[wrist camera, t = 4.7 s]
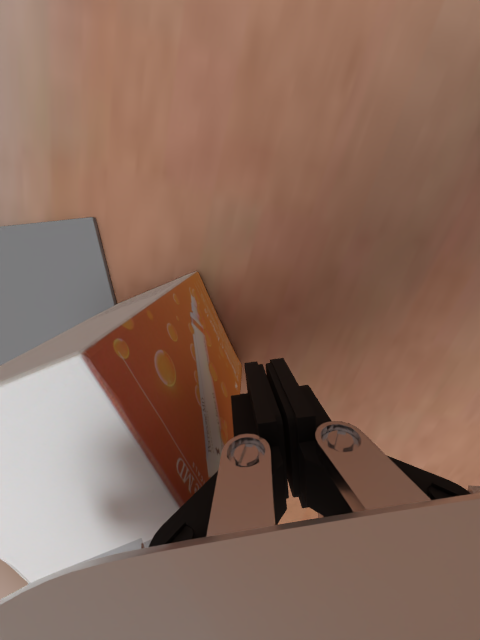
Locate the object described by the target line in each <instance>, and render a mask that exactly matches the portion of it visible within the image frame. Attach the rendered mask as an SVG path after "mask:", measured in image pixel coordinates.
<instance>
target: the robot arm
mask: <svg viewBox="0 0 480 640" xmlns="http://www.w3.org/2000/svg"><path fill="white" fill-rule="evenodd" d="M245 372H246V381H247V390H248V393H246V394H239V395H232V396H231V406H232V420H233V433H234V437H233V438H232V439H230V440H229V441H228V442H227V443H226V444H225V445H224V447H223V450H222V453H221V458H220V464H219V469H218V471H217V472H216V473H215V474H214V475H213V476H212V477H211V478H210V479H209V480H208V481H207V482H206V483H205V484H204V485H203V486H202V487H201V488H200V489H199V490H198V491H197V492H196V493H195V494H194V495H193V496H192V497H191V498H190V499H189V500H188V501H186V502H185V503H184V504H183V505H182V506H181V507H180V508H179V509H178V510H177V511H176V512H175V513H174V514H173V515H172V516H171V517H170V518H169V519H168V520H167V521H166V522H165V523H164V524H163V525H162V526H161V527H160V529H159V530H158V531H157V532H156V533H155V535H154V537H153V538H152V539H151V540H149V541H146V542H144V543H143V541H142V538H140V539H138V540H135V541H133V542H130V543H128V544H125V545H123V546H120V547H118V548H115V549H113V550H110V551H108V552H105V553H103V554H100V555H98V556H95V557H93V558H90V559H88V560H85V561H83V562H80V563H78V564H75V565H73V566H70V567H67V568H64V569H62V570H59V571H57V572H55V573H52V574H50V575H48V576H45V577H43V578H40V579H38V580H36V581H34V582H32V583H30V584H28V585H26V586H25V587H23V588H21V589H19V590H17V591H15V592H13V593H12V594H10V595H8V596H6V597H4V598H2V599H1V600H0V640H480V486H468V490H466V489H464V488H463V487H461V486H460V485H458V484H456V483H454V482H451V481H449V480H447V479H444V478H442V477H439V476H437V475H434V474H432V473H429V472H427V471H424V470H422V469H419V468H417V467H414V466H412V465H409V464H407V463H404V462H402V461H399V460H397V459H394V458H392V457H389V456H387V455H385V454H384V453H383V452H382V451H381V450H380V449H379V448H378V447H377V446H376V445H375V444H374V443H373V442H372V441H371V440H370V439H369V438H368V437H367V436H366V435H365V434H364V433H363V432H362V431H361V430H360V429H358V428H357V427H356V426H353V425H351V424H349V423H345V422H342V421H331V420H330V418H329V417H328V415H327V413H326V412H325V410H324V409H323V407H322V406H321V404H320V402H319V401H318V399H317V398H316V396H315V395H314V393H313V391H312V390H311V388H310V387H309V386H308V385H304V386H299V385H298V383H297V382H296V380H295V378H294V376H293V375H292V373H291V371H290V369H289V368H288V366H287V364H286V362H285V360H284V359H283V358H280V359H272V360H270V363H268V364H266V373H267V375H266V373H265V370H264V367H263V364H260V365H258V363H257V362H250V363H245ZM287 479H288V482H289V486H290V489H291V492H292V496H293V497H299V500H300V503H301V506H302V508H307V507H310V508H311V509H313V510H315V511H316V512H318V518H316V519H310V520H304V521H298V522H292V523H286V524H280V525H278V522H279V520H280V519H281V517H282V516H283V514H284V513H285V511H286V510H287V505H286V498H289V495H288V482H287Z"/></svg>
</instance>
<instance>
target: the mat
mask: <svg viewBox="0 0 480 640" xmlns="http://www.w3.org/2000/svg"><path fill="white" fill-rule="evenodd" d="M116 304H117V303H116V299H115V295H114V291H113V287H112V283H111V279H110V275H109V271H108V267H107V263H106V259H105V255H104V251H103V247H102V243H101V239H100V235H99V231H98V227H97V223H96V219H95V218H94V217H89V218H80V219H70V220H60V221H51V222H41V223H31V224H22V225H12V226H3V227H0V366H1V365H2V364H4V363H6V362H8V361H10V360H12V359H14V358H16V357H18V356H20V355H21V354H23V353H25V352H27V351H29V350H31V349H33V348H35V347H37V346H39V345H40V344H42V343H44V342H46V341H48V340H50V339H52V338H54V337H56V336H58V335H59V334H61V333H63V332H65V331H67V330H69V329H71V328H72V327H74V326H76V325H78V324H80V323H82V322H84V321H86V320H87V319H89V318H91V317H93V316H95V315H97V314H99V313H101V312H103V311H105V310H107V309H109V308H111V307H113V306H114V305H116Z"/></svg>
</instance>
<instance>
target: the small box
mask: <svg viewBox="0 0 480 640" xmlns="http://www.w3.org/2000/svg"><path fill="white" fill-rule="evenodd" d="M241 375H242V365H241V363H240V361H239V360H238V358H237V356H236V354H235V352H234V350H233V348H232V346H231V343H230V341H229V339H228V337H227V335H226V333H225V331H224V328H223V326H222V324H221V322H220V320H219V318H218V316H217V313H216V311H215V309H214V307H213V304H212V302H211V300H210V298H209V295H208V293H207V291H206V289H205V286H204V284H203V282H202V280H201V277H200V275H199V273H198V272H197V271H195V272H192V273H190V274H187V275H185V276H183V277H180V278H178V279H175V280H173V281H171V282H168V283H166V284H163V285H161V286H159V287H156V288H154V289H151V290H149V291H147V292H144V293H142V294H140V295H137V296H135V297H132V298H130V299H128V300H125V301H123V302H121V303H118V304H116V305H114V306H113V307H111V308H109V309H107V310H105V311H103V312H101V313H99V314H97V315H95V316H93V317H91V318H89V319H87V320H86V321H84V322H82V323H80V324H78V325H76V326H74V327H72V328H71V329H69V330H67V331H65V332H63V333H61V334H59V335H58V336H56V337H54V338H52V339H50V340H48V341H46V342H44V343H42V344H40V345H39V346H37V347H35V348H33V349H31V350H29V351H27V352H25V353H23V354H21V355H20V356H18V357H16V358H14V359H12V360H10V361H8V362H6V363H4V364H2V365H1V366H0V559H1V560H3V561H4V562H6V563H7V564H8V565H9V566H11V567H12V568H13V569H14V570H15V571H16V572H17V573H18V574H19V575H20V576H21V577H22V578H23V579H24V580H26V581H27V582H28V583H29V584H30V583H32V582H34V581H36V580H38V579H40V578H43V577H45V576H48V575H50V574H52V573H55V572H57V571H59V570H62V569H64V568H67V567H70V566H73V565H75V564H78V563H80V562H83V561H85V560H88V559H90V558H93V557H95V556H98V555H100V554H103V553H105V552H108V551H110V550H113V549H115V548H118V547H120V546H123V545H125V544H128V543H130V542H133V541H135V540H138V539H140V538H142V541H143V543H144V542H146V541H149V540H151V539H152V538H153V537H154V535H155V533H156V532H157V531H158V530H159V529H160V527H161V526H162V525H163V524H164V523H165V522H166V521H167V520H168V519H169V518H170V517H171V516H172V515H173V514H174V513H175V512H176V511H177V510H178V509H179V508H180V507H181V506H182V505H183V504H184V503H185V502H186V501H188V500H189V499H190V498H191V497H192V496H193V495H194V494H195V493H196V492H197V491H198V490H199V489H200V488H201V487H202V486H203V485H204V484H205V483H206V482H207V481H208V480H209V479H210V478H211V477H212V476H213V475H214V474H215V473H216V472H217V471H218V469H219V464H220V458H221V453H222V450H223V447H224V445H225V444H226V443H227V442H228V441H229V440H230V439H232V438H233V437H234V433H233V420H232V406H231V396H232V395H239V394H240V388H241Z"/></svg>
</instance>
